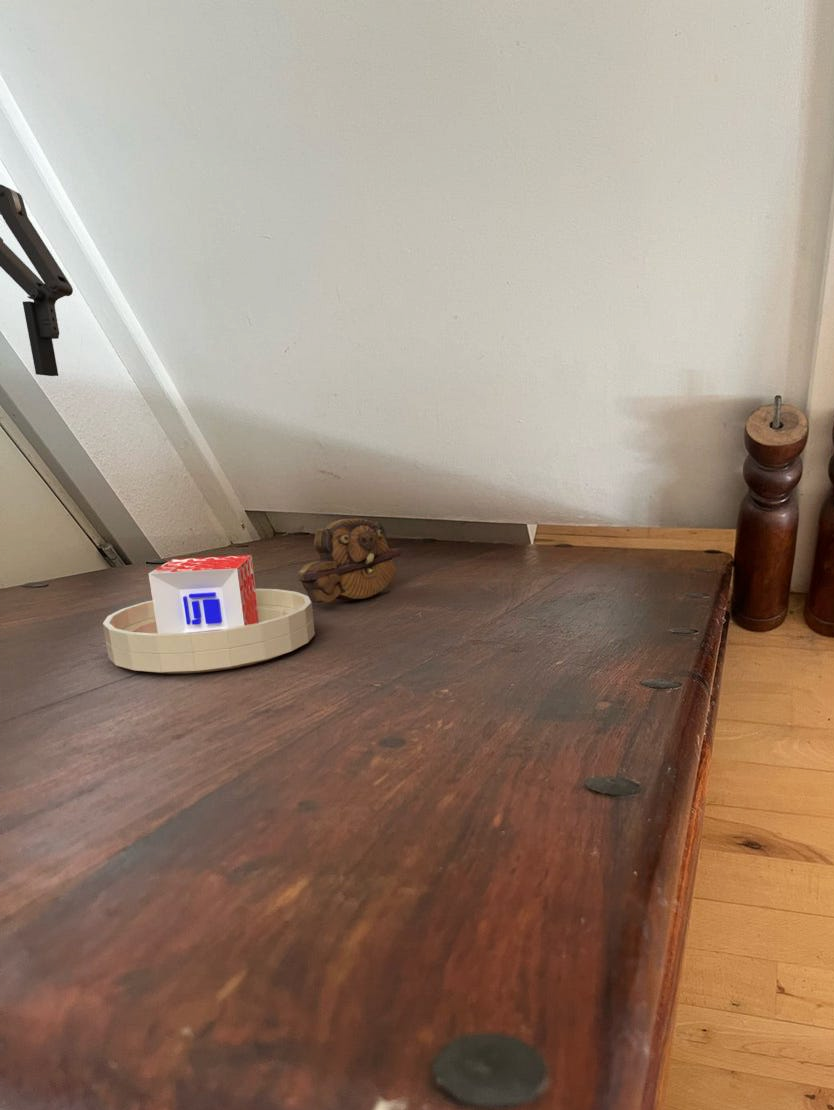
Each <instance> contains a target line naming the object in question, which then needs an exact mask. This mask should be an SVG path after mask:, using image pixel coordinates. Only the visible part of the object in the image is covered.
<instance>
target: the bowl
mask: <svg viewBox="0 0 834 1110" xmlns="http://www.w3.org/2000/svg"><path fill="white" fill-rule="evenodd" d="M255 589H256V598H257V606H258V614H259V623H254V624H249V625H243V626H238V627H232V628H227V629H218V630H208V631H199V632H185V633H159V634H158V632H157V626H156V619H155V613H154V606H153V600H148V601H147V600H146V601H143V602H140V603H136V604H133V605H130V606H127V607H124V608H121V609H119V610H117V611H114V612H112V613H111V614H108V615H107V616H106V618H105V619H104V620H103V622H102V628H103V629H102V630H103V634H104V640H105V647H106V651H107V657H108V659H109V660H110V661H111V662H112V664H114V666H117V667H120V668H123V669H128V670H131V671H135V672H136V671H137V672H146V673H147V672H148V673H156V674H169V675H170V674H171V675H173V674H174V675H175V674H176V675H177V674H178V675H179V674H181V675H182V674H184V675H185V674H198V673H199V674H200V673H210V672H219V671H225V670H232V669H237V668H243V667H248V666H251V665H255V664H259V663H264V662H267V661H270V660H273V659H275V658H278V657H280V656H283V655H285V654H288V653H290V652H293V651H295V650H297V649H299V648H300V647H302V646H304V645H306V644H308V643H309V642H310V641H311V640H312V638H313V637H314V636H315V635H316V634H315V633H316V632H315V631H316V630H315V621H314V612H313V603H312V602H311V600H310V598H309V596H308V595H306V594H303V593H301V592H298V591H293V590H286V589H279V588H255Z"/></svg>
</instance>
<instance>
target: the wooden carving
mask: <svg viewBox="0 0 834 1110" xmlns="http://www.w3.org/2000/svg"><path fill="white" fill-rule="evenodd" d="M314 533H315V534H314V542H313V545H314V549H315V551H316V552H317V553H318V555H319V558H320V561H318V560H317V561H310V562H308V563H306V564H304V565H303V566H302V567H301V569H300V570H298V572H297V579H298V581H299V582H301V584H302V587H303V588H304V590H305V591H306V593H307V596H309V598H310V600H311V602H312V604H320V603H330V602H332V601H334V600H335V599H337V600H341V601H350V600H363V599H368V598H370V597H373V596H375V595H377V594H378V593H380V592H382V591H384V590H385V589H386V588H387V587H388V586H389V585H390V584H391V582H392V581H393V580H394V579H395V577H396V576H397V574H398V568H396V567H395V566H394V562H393V560H392V559H395V558H398V557H399V556H401V555H402V554H403V549H402V548H400V547H397V548H389V545H388V542H387V532H386V529H385V527H384V526H383V524H382V522H380V521H376V522H374V521H372V520H368V519H365V518H342V519H339V520H334V521H333V522H330V523H329V524H327V526H325V528H317V529H316V530H315V532H314Z"/></svg>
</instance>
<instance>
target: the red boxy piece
mask: <svg viewBox="0 0 834 1110" xmlns="http://www.w3.org/2000/svg"><path fill="white" fill-rule="evenodd" d="M253 564H254V563H253V557H252V554H246V555H227V556H226V555H225V556H210V557H209V556H208V557H194V558H193V557H191V558H189V557H188V558H174V559H170V560H168V561H166V562H165V563H163V564H161V565H160V566H158V567H157V568H155V569H153V570H151V571H150V572H148V574H147V575H148V581H149V588H150V593H151V598H152V600H153V606H154V613H155V619H156V626H157V632H158V634H159V633H185V632H199V631H208V630H218V629H227V628H232V627H238V626H243V625H249V624H254V623H259V614H258V606H257V598H256V589H257V588H256V583H255V574H254V565H253ZM152 600H151V601H152Z"/></svg>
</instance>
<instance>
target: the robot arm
mask: <svg viewBox="0 0 834 1110" xmlns="http://www.w3.org/2000/svg"><path fill="white" fill-rule="evenodd" d="M0 216H1V217H2V219H3V220H4V222H5V224H6V225H7V227H8V229H9V230H10V232H11V234H12V235H13V237H14V238H15V239H16V241H17V242H18V244H19V246H20V247H21V249H22V250H23V252H24V254H25V255H26V257H27V258H28V260H29V261H30V263H31V264H32V266H33V267H34V269H35V271H36V272H37V274H38V275H39V277H38V276H37V274H36V273H35V272H34V271H32V270H31V268H30V267H29V266H28V265H26V263H25V262H24V261H23V260H22V259H21V258H20V257H19V256H18V255H17V254H16V253H15V252H14V251H13V250H12V249H11V248H10V247H9V246H8V245H7V244H6V243H5V242H4V239H3V238H2V237H1V236H0V268H1V269H2V270H3V271H4V272H5V273H6V274H7V275H8V276H9V278H11V279H12V280H13V282H15V283H16V284H17V285H18V286H19V287H20V288H21V289H22V290H23V291H24V292H25V293H26V294H27V298H28V299H29V300H28V301H27V300H26V301H22V306H23V313H24V318H25V324H26V329H27V335H28V339H29V345H30V350H31V356H32V362H33V366H34V372H35V375H38V376H45V377H58V376H59V371H58V365H57V360H56V355H55V354H56V353H55V349H54V342H53V340H57V339H59V338H60V330H59V329H60V328H59V323H58V316H57V312H56V302H57V301H58V300H59V299H62V298H64V297H70V296H71V295H72V294H73V291H74V290H73V289H74V288H73V286H72V284H71V283H70V282H69V280H68V278H67V276H66V275H65V274H64V272H63V270H62V269H61V267H60V265H59V264H58V262H57V261H56V259H55V258H54V256H53V254H52V253H51V252H50V250H49V249H48V247H47V245H46V243H45V242H44V240H43V239H42V237H41V235H40V234H39V233H38V230H36V227H35V226H34V225H33V223H32V221H31V220H30V219H29V217H28V212H27V210H26V206H25V203H24V198H23V196H22V195H21V194H20V193H19V192H17V191H16V190H14V189H12V188H10V187H8V186H5V185H3V184H0ZM31 300H33V301H31Z"/></svg>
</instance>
